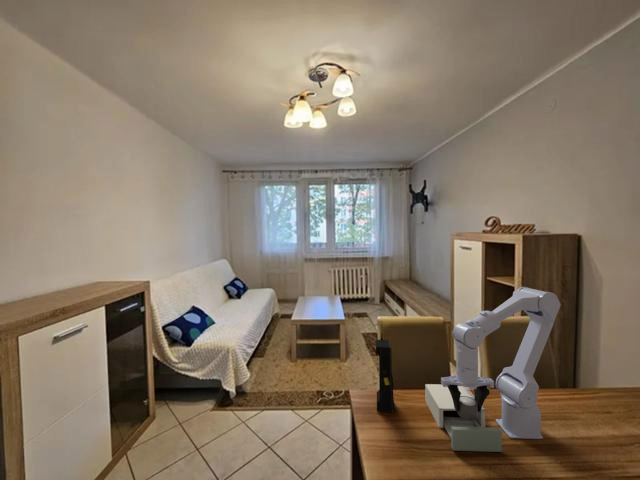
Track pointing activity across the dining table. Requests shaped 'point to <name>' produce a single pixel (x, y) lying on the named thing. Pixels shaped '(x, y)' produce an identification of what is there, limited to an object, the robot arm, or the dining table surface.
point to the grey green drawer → (472, 435)
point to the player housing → (446, 402)
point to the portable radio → (385, 376)
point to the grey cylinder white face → (468, 408)
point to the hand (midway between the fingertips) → (467, 409)
